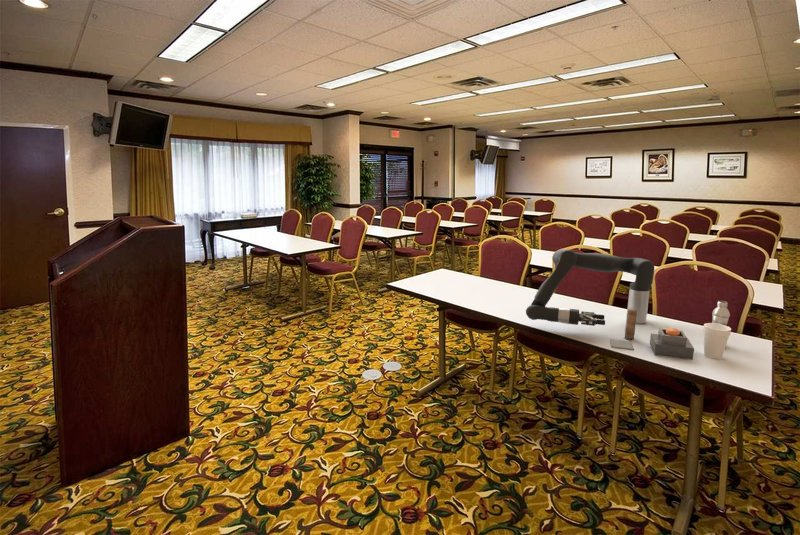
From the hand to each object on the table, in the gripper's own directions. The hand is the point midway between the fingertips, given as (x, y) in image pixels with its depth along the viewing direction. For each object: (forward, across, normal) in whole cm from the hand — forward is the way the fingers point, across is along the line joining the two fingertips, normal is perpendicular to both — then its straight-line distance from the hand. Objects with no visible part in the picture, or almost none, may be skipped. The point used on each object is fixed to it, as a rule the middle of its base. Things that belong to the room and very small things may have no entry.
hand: (604, 320), depth 212 cm
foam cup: (+42, -10, +8) cm, 44 cm away
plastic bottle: (+47, +6, +8) cm, 48 cm away
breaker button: (+26, -11, +1) cm, 28 cm away
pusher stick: (+11, 0, +8) cm, 14 cm away
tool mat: (+7, -10, +8) cm, 15 cm away
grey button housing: (+26, -11, +8) cm, 29 cm away
